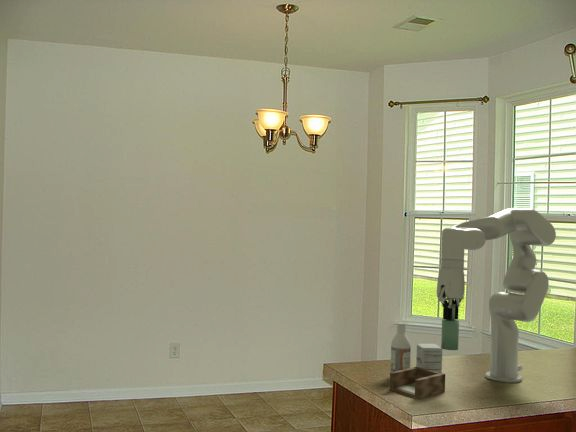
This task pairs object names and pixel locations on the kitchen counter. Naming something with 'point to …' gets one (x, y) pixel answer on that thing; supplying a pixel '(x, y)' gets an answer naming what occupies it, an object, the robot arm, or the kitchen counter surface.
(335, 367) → the kitchen counter surface
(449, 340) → the green bottle
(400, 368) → the bath foam
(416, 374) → the walnut U-rest
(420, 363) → the supplement box
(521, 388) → the kitchen counter surface
